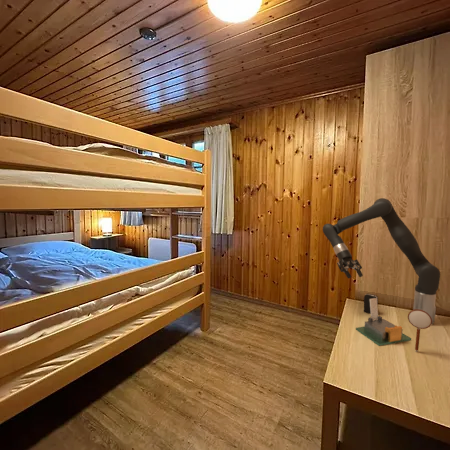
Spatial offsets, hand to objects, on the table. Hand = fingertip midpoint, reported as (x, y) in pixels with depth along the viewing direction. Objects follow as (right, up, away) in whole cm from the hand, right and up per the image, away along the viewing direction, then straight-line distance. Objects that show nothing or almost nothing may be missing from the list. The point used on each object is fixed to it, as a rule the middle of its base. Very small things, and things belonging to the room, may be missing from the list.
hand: (355, 277), depth 144 cm
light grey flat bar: (+4, -15, -11) cm, 19 cm away
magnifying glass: (+12, -28, -29) cm, 42 cm away
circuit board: (+6, -26, -15) cm, 31 cm away
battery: (+13, -23, +8) cm, 28 cm away
